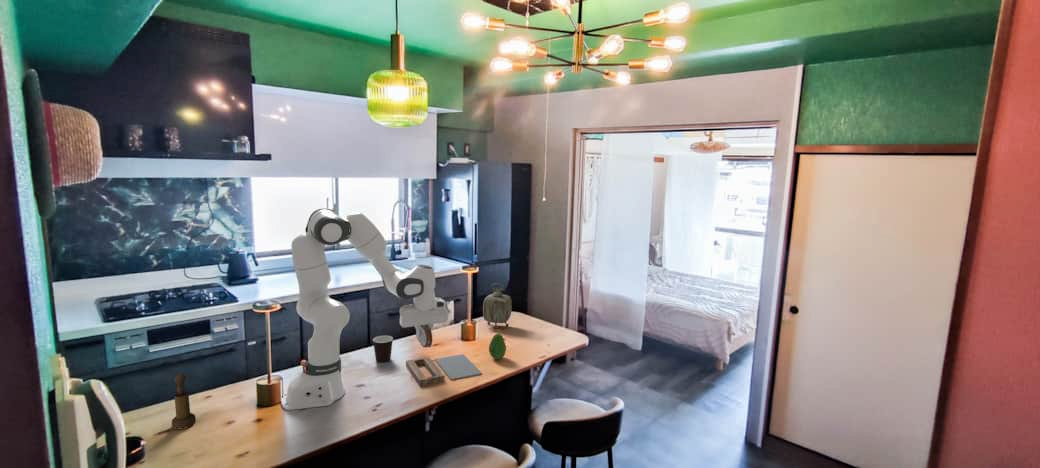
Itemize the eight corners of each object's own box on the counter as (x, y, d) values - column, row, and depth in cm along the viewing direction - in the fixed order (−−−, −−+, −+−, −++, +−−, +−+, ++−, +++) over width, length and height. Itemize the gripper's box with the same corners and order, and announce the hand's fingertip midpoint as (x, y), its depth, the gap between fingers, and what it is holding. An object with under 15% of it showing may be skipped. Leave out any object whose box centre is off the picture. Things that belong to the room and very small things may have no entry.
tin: (431, 350, 198) (434, 330, 197) (424, 350, 196) (426, 330, 195) (420, 337, 211) (423, 319, 210) (413, 338, 209) (416, 319, 208)
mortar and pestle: (169, 431, 158) (165, 380, 156) (174, 421, 164) (170, 372, 161) (193, 427, 161) (189, 377, 158) (197, 417, 167) (193, 369, 164)
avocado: (503, 354, 228) (503, 330, 226) (507, 361, 221) (508, 336, 219) (486, 356, 226) (487, 331, 224) (491, 363, 218) (491, 338, 216)
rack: (419, 386, 194) (419, 380, 194) (406, 365, 213) (406, 360, 212) (444, 381, 199) (444, 375, 199) (429, 361, 218) (429, 356, 217)
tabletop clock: (511, 326, 267) (512, 282, 263) (507, 331, 258) (508, 286, 254) (486, 323, 270) (487, 280, 266) (481, 328, 262) (482, 284, 258)
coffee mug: (387, 365, 213) (387, 343, 211) (369, 362, 215) (369, 341, 213) (399, 354, 224) (399, 334, 223) (382, 352, 226) (381, 332, 224)
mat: (451, 380, 200) (451, 379, 200) (434, 360, 219) (434, 359, 219) (481, 374, 207) (481, 373, 207) (463, 355, 226) (463, 354, 226)
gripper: (401, 307, 193) (401, 340, 195) (449, 302, 203) (449, 333, 205) (397, 303, 199) (397, 335, 201) (444, 298, 208) (444, 328, 211)
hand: (424, 334), depth 203 cm, fingers closed on tin, 2 cm apart
